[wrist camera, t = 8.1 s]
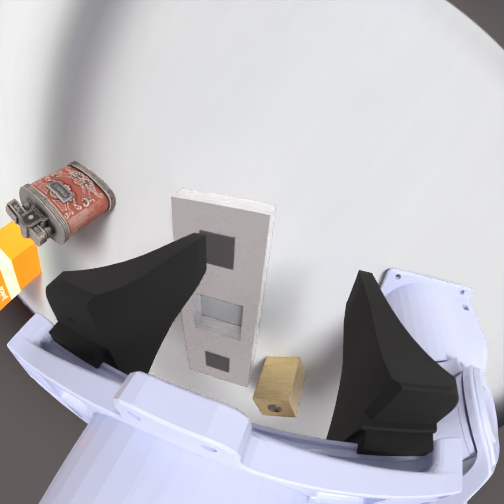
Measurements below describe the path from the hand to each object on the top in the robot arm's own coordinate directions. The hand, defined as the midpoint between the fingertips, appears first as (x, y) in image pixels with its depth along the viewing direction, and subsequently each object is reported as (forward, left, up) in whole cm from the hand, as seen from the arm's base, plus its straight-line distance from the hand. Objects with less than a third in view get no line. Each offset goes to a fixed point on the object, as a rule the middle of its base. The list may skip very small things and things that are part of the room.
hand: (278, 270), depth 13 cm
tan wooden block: (-2, +21, -10) cm, 23 cm away
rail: (+6, +13, -9) cm, 17 cm away
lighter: (+22, +2, -10) cm, 24 cm away
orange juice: (+46, +16, -10) cm, 50 cm away
